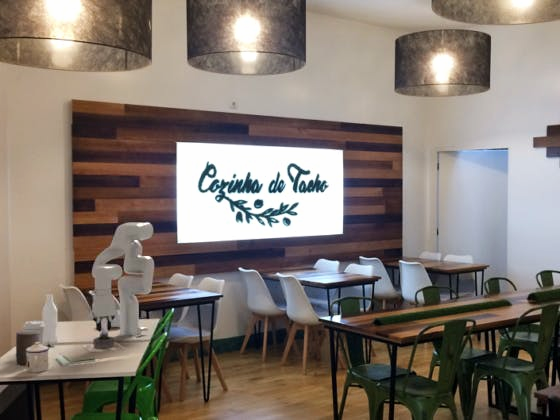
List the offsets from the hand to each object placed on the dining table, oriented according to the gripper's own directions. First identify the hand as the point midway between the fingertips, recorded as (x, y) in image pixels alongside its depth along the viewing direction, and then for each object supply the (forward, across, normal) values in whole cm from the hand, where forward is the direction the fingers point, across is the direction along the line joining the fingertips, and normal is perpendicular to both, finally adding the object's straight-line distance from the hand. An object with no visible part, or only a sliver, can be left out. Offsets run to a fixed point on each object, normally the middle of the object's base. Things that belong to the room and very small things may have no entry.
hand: (103, 330), depth 308 cm
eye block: (+10, 0, 0) cm, 10 cm away
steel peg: (+5, 0, 0) cm, 5 cm away
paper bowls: (+10, +21, +54) cm, 59 cm away
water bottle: (+10, -20, +24) cm, 33 cm away
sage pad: (+9, -16, -13) cm, 23 cm away
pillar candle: (+10, -35, -6) cm, 37 cm away
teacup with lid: (+10, -34, -22) cm, 42 cm away
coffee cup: (+10, -30, +8) cm, 33 cm away
